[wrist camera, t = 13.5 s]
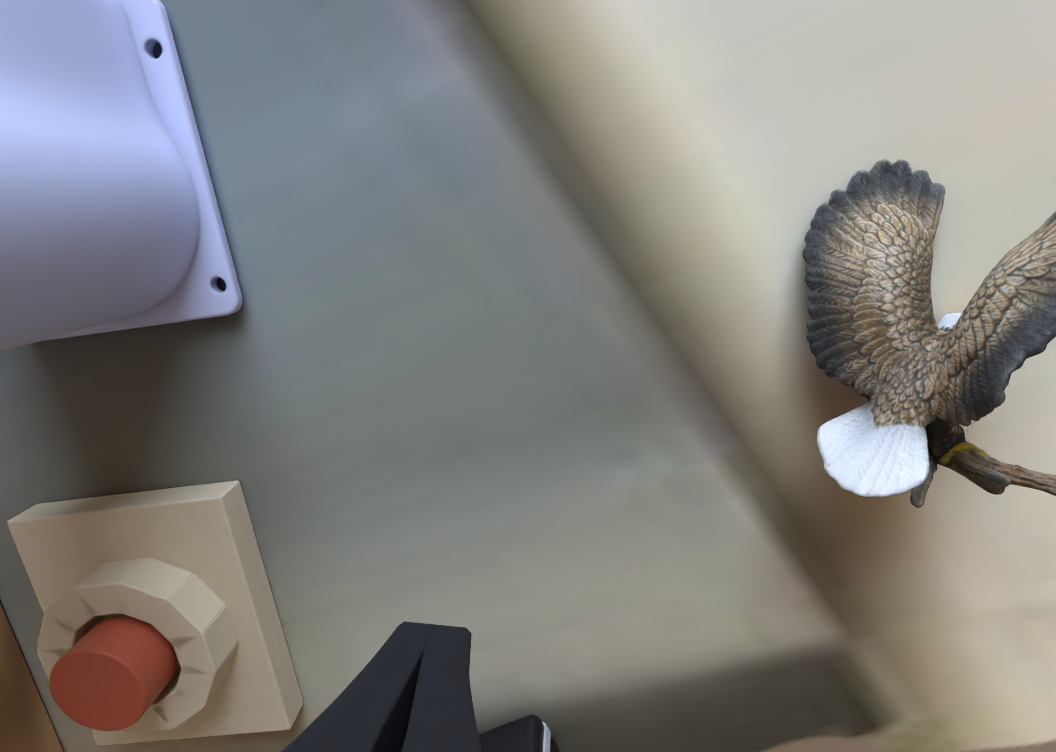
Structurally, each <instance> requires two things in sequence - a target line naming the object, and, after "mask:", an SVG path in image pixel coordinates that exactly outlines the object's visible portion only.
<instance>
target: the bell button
mask: <svg viewBox="0 0 1056 752" xmlns="http://www.w3.org/2000/svg"><path fill="white" fill-rule="evenodd" d="M175 668H176V655H175V652H174V649H173V647H172V645H171V643H170V641H168V640H167V639H166V638H165V637H164V636H163V635H162V634H161V633H160V632H159V631H158V630H157V629H156V628H155V627H154V626H152V625H151V624H149V623H147V622H144V621H141V620H138V619H136V618H133V617H125V616H119V617H112V618H109V619H106V620H103V621H101V622H99V623H98V624H96V625H95V626H94V627H93V628H92V629H91V630H90V631H89V632H88V633H87V634H86V635H84V636H83V637H82V638H81V639H80V640H79V641H78V642H77V643H76V644H75V645H74V646H73V647H72V648H70V649H69V650H68V651H67V652H66V653H65V654H64V655H63V656H62V657H61V658H60V659H59V660H58V661H57V662H56V663H55V665H54V666H53V668H52V671H51V674H50V680H49V683H50V690H51V693H52V696H53V698H54V700H55V702H56V703H57V705H58V706H59V708H60V709H61V710H62V711H63V712H64V713H65V714H66V715H67V716H69V717H70V718H71V719H73V720H74V721H76V722H77V723H79V724H81V725H83V726H86V727H88V728H92V729H96V730H101V731H115V730H120V729H124V728H126V727H129V726H131V725H132V724H134V723H135V722H137V721H138V720H139V719H140V718H141V717H142V715H143V714H144V713H145V712H146V710H147V709H148V708H149V707H150V705H151V704H152V703H153V702H154V700H155V699H156V698H157V697H158V695H159V694H160V693H161V692H162V690H163V689H164V688H165V687H166V685H167V684H168V683H169V682H170V680H171V679H172V677H173V675H174V672H175Z"/></svg>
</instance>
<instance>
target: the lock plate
mask: <svg viewBox="0 0 1056 752" xmlns="http://www.w3.org/2000/svg"><path fill="white" fill-rule="evenodd" d="M0 752H64V751H63V749H62V747H61V744H60V742H59V740H58V737H57V735H56V733H55V730H54V728H53V725H52V723H51V721H50V718H49V716H48V714H47V711H46V709H45V707H44V704H43V702H42V700H41V697H40V695H39V693H38V690H37V688H36V686H35V683H34V681H33V679H32V676H31V674H30V672H29V669H28V667H27V664H26V662H25V660H24V657H23V655H22V653H21V650H20V648H19V646H18V643H17V641H16V639H15V636H14V634H13V632H12V629H11V627H10V625H9V622H8V620H7V618H6V615H5V613H4V610H3V608H2V606H1V603H0Z"/></svg>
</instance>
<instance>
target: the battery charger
mask: <svg viewBox="0 0 1056 752" xmlns="http://www.w3.org/2000/svg"><path fill="white" fill-rule="evenodd" d="M478 736H479V740H480V744H481V748H482V752H559V750H558V748H557V745H556V743H555V741H554V740H553V738H552V737H551V733H550V730H549V728H548V727H547V725H546V724H545V723H544V722H541V720H540V719H539V718H538V717H537V716H535V715H530V716H526V717H524V718H521V719H518V720H516V721H513V722H510V723H508V724H505V725H502V726H500V727H497V728H495V729H492V730H490V731H487V732H485V733H482V734H480V735H478Z"/></svg>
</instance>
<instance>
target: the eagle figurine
mask: <svg viewBox="0 0 1056 752" xmlns="http://www.w3.org/2000/svg"><path fill="white" fill-rule="evenodd" d="M944 195H945V187H944V186H943V185H941V184H940V183H932V182H931V179H930V178H929V175H928V173H927V171H924V170H918V171H915V172H912V170H911V166H910V164H909V163H908V162H907V161H905V160H898V161H897V162H895V163H894V164H891V163H890V162H889V161H888V160H884V159H883V160H880V161H878V162H877V163H876V164H875V165H874V167H873V168H872V169H871V171H869V172H866V171H865V170H860V171H858V172H857V173H856V174H854V175H853V177H852V178H851V180H850V182H849V184H848V187H847V191H846V192H844V191H842V190H840V189H837V190H835V191H833V192H832V193H831V198H830V201H829V204H825V203H824V204H822V205H821V206H820V207H819V208H818V209H817V210H816V214H815V216H814V217H813V219H812V221H811V229H810V230H809V231H808V232H807V233H806V237H805V242H806V247H805V249H804V250H803V258H804V259H805V261H806V262H807V266H806V277H805V282H806V284H807V286H808V287H809V288H810V289H811V291H810V292H809V293H808V300H809V306H808V312H809V315H810V317H811V321H810V322H808V324H807V328H808V333H807V336H806V338H807V340H808V342H809V347H810V350H811V352H812V353H813V354H814V356H815V357H816V364H817V366H818V367H819V368H820V369H823V370H824V372H825V374H826V375H827V376H829V377H837V378H838V379H839V380H840V382H841V383H842V384H844V385H846V386H854V389H855V392H856V394H858V395H861V396H865V397H866V398H867V399H868V401H867V402H866V403H865V404H864V405H862V406H860V407H857V408H855V409H853V410H851V411H849V412H847V413H845V414H843V415H841V416H839V417H837V418H834V419H832V420H829V421H828V422H826V423H824V424H823V425H822V426H820V427H819V429H818V432H817V444H818V448H819V450H820V454H821V456H822V459H823V463H824V469H825V471H826V473H827V474H828V475H829V476H830V477H831V478H833V479H834V480H835V481H836V482H837V483H838V485H839V486H840V487H841V488H842V489H843V490H845V491H847V492H852V493H854V494H856V495H858V496H860V497H866V498H872V497H889V496H893V495H897V494H904V493H906V492H908V491H910V490H912V492H911V496H910V500H911V504H912V505H913V506H915V507H917V508H920V507H921V506H923V504H924V500H925V496H926V493H927V490H928V488H929V486H930V483H931V481H932V479H933V474H934V472H935V471H936V470H937V464H939V465H942V466H945V467H948V468H950V469H952V470H954V471H956V472H958V473H959V474H961V475H963V476H965V477H966V478H967V479H969V480H970V481H972V482H973V483H975V484H977V485H978V486H980V487H981V488H983V489H984V490H986V491H987V492H989V493H991V494H995V495H998V494H1002V493H1003V492H1004V490H1005V487H1007V486H1008V485H1010V484H1013V485H1018V486H1023V487H1029V488H1034V489H1038V490H1042V491H1044V492H1047V493H1050V494H1052V495H1055V496H1056V475H1051V474H1045V473H1040V472H1036V471H1032V470H1028V469H1026V468H1023V467H1021V466H1019V465H1011V464H1006V463H1002V462H1000V461H998V460H996V459H994V458H992V457H990V456H989V455H987V454H986V453H985V452H984V451H983V450H981V449H979V448H977V447H976V446H975V445H973V444H971V443H969V442H967V441H965V434H964V429H963V428H962V427H961V426H960V425H959V424H961V425H963V426H969V425H970V424H971V420H973V421H978V420H979V419H980V418H982V417H984V416H986V415H987V414H989V413H991V412H992V411H993V410H994V408H996V407H998V406H1000V405H1001V404H1002V403H1003V402H1004V400H1005V393H1004V390H1005V388H1006V386H1007V385H1008V384H1009V380H1010V376H1011V373H1012V372H1013V371H1015V370H1017V369H1019V368H1020V367H1021V366H1022V365H1023V363H1024V361H1025V359H1027V358H1029V357H1032V356H1034V355H1037V354H1040V353H1042V352H1043V351H1044V350H1045V349H1046V346H1047V344H1048V343H1049V342H1050V341H1051V340H1052V339H1053V338H1055V336H1056V212H1055V213H1054V214H1053V215H1052V216H1050V217H1049V218H1048V219H1047V220H1046V222H1045V223H1044V224H1043V225H1042V226H1041V227H1040V228H1039V229H1038V230H1037V231H1035V232H1034V233H1033V234H1031V235H1030V236H1029V237H1028V238H1026V239H1025V240H1024V241H1022V242H1021V243H1019V244H1018V245H1017V246H1016V247H1014V248H1013V249H1012V250H1010V251H1009V252H1008V253H1006V255H1005V256H1004V257H1003V258H1002V259H1001V260H1000V262H999V263H998V264H997V265H996V266H995V267H994V268H993V269H992V270H991V272H990V273H989V274H988V276H987V277H986V278H985V279H984V281H983V283H982V284H981V286H980V287H979V289H978V290H977V292H976V293H975V295H974V296H973V298H972V299H971V301H970V302H969V304H968V305H967V307H966V308H965V310H964V311H963V313H949V314H945V315H944V316H943V317H942V318H941V320H940V321H939V323H938V324H936V322H935V318H934V315H933V307H932V299H931V291H930V281H931V269H932V260H933V240H934V237H935V233H936V229H937V227H938V222H939V217H940V214H941V211H942V208H943V204H944Z"/></svg>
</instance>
